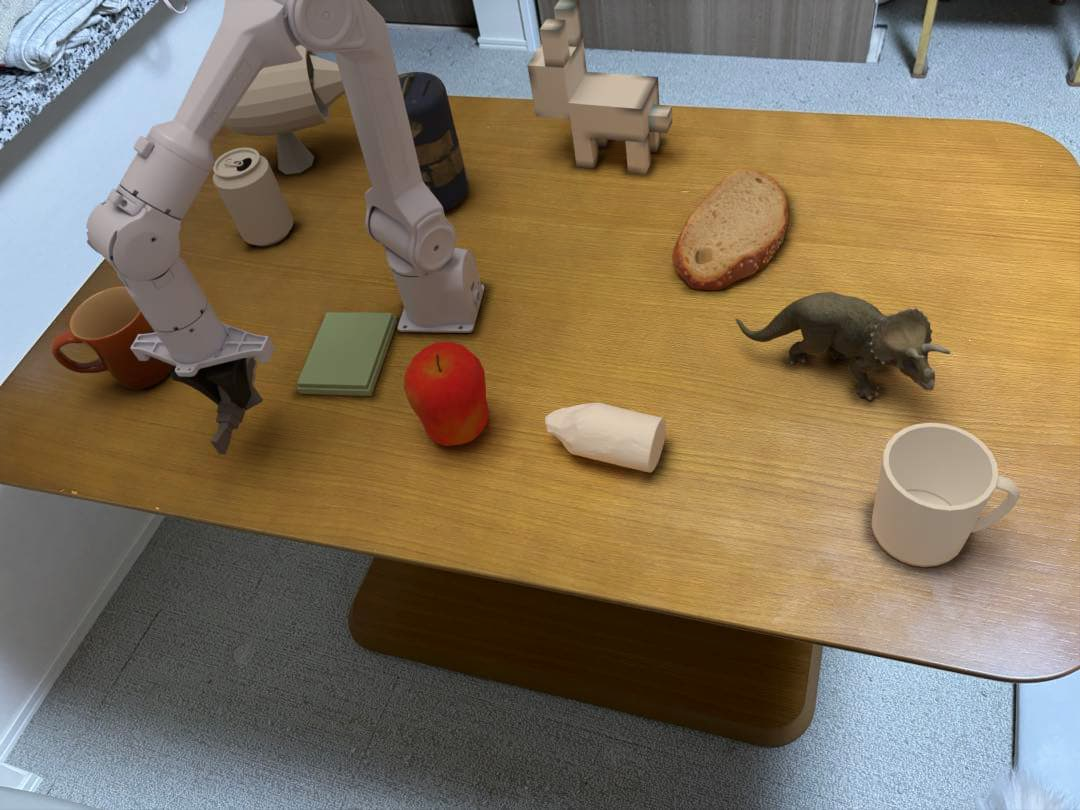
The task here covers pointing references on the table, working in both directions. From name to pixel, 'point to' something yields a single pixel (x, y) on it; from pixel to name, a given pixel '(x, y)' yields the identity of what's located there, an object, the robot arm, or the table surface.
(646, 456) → the white tapered cylinder
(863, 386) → the toy dinosaur
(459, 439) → the apple
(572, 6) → the toy llama
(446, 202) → the canister
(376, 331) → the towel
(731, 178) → the bread slice
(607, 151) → the table surface
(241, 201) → the can
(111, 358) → the mug
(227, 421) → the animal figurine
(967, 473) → the mug
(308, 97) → the jet engine
